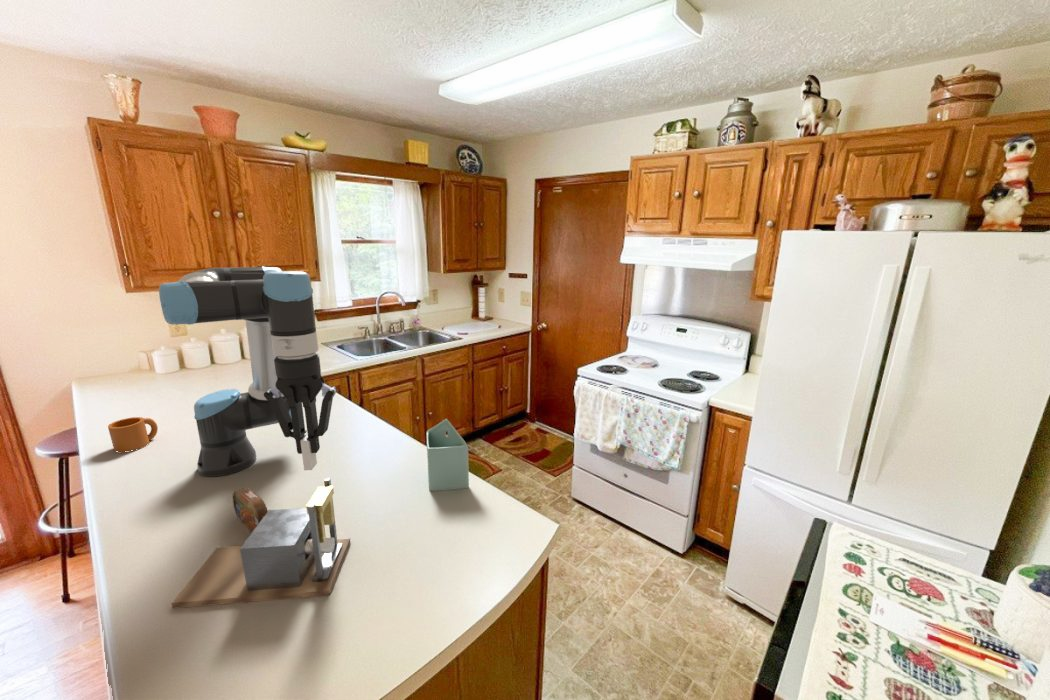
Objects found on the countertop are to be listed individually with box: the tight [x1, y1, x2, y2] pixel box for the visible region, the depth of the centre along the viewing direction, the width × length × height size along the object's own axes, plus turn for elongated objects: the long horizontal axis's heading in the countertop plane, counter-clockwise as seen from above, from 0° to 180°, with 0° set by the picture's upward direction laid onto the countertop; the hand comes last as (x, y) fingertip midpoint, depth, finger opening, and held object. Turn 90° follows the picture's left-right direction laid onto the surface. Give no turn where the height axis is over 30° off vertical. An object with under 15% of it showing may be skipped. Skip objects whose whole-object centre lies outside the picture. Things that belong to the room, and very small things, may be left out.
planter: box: [426, 418, 470, 492], centre depth 120 cm, size 16×8×20 cm, turn 57°
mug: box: [107, 416, 158, 452], centre depth 140 cm, size 9×12×9 cm
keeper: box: [305, 485, 335, 543], centre depth 87 cm, size 3×7×9 cm, turn 7°
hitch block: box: [240, 477, 342, 591], centre depth 87 cm, size 15×12×18 cm
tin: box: [232, 487, 269, 533], centre depth 103 cm, size 15×3×8 cm, turn 54°
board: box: [170, 538, 351, 609], centre depth 89 cm, size 29×15×1 cm, turn 97°
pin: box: [304, 537, 335, 555], centre depth 88 cm, size 16×6×6 cm, turn 97°
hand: (310, 466), depth 83 cm, fingers closed
